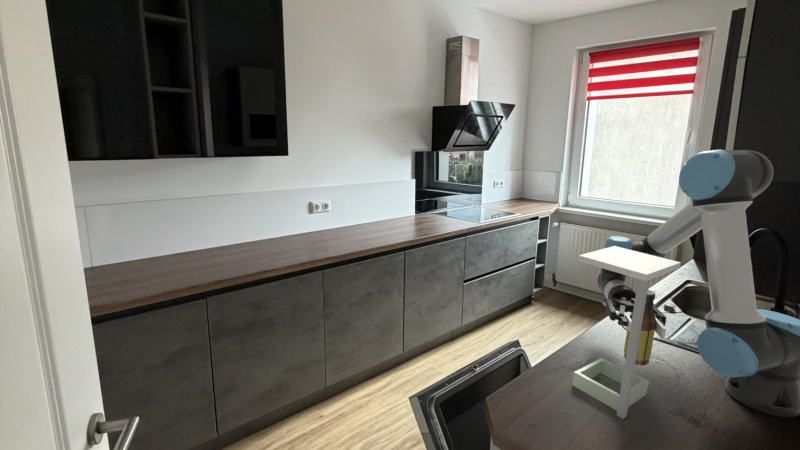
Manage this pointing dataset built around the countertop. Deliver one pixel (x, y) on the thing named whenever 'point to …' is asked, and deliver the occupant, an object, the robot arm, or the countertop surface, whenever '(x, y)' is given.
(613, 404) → the frame
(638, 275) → the c-shaped side table
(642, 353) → the sauce bottle
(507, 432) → the countertop surface
